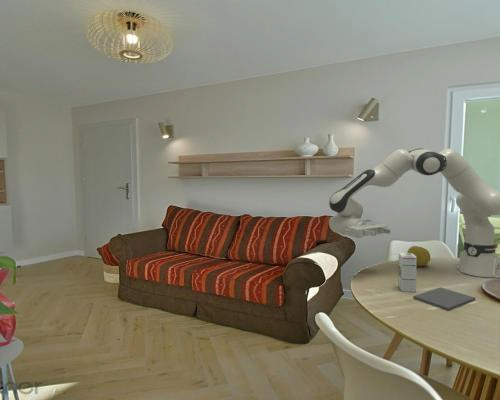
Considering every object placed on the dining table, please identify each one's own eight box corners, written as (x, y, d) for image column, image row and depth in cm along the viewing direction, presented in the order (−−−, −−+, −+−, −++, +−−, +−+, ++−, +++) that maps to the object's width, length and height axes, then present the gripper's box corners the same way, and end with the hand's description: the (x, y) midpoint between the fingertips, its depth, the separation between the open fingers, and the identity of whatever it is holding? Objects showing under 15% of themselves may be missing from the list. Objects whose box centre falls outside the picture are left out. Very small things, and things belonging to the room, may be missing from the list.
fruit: (429, 269, 162) (430, 249, 161) (405, 266, 168) (405, 247, 167) (430, 264, 171) (431, 245, 170) (407, 261, 177) (408, 243, 176)
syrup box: (416, 292, 132) (417, 256, 131) (400, 291, 134) (401, 255, 132) (412, 287, 138) (413, 252, 137) (397, 286, 139) (398, 252, 138)
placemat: (440, 289, 135) (440, 287, 135) (475, 300, 124) (475, 297, 124) (413, 298, 126) (413, 296, 126) (448, 310, 115) (448, 308, 115)
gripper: (341, 223, 151) (366, 227, 139) (372, 219, 161) (397, 223, 149) (341, 236, 151) (366, 242, 139) (371, 232, 161) (396, 237, 150)
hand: (382, 232), depth 144 cm, fingers open, 8 cm apart
